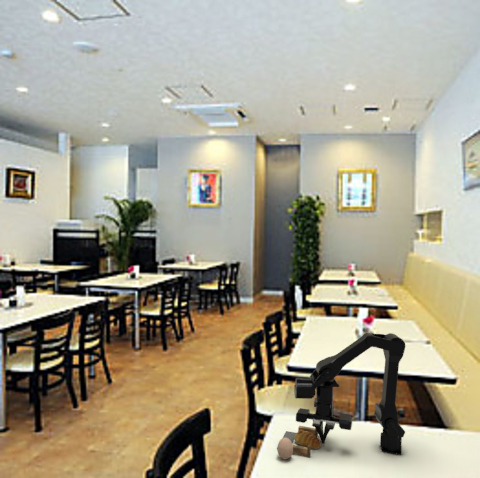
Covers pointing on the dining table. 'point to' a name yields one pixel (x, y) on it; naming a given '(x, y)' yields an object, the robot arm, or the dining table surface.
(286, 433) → the mat
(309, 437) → the pastry
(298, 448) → the wooden blocks
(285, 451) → the egg
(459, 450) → the dining table surface
